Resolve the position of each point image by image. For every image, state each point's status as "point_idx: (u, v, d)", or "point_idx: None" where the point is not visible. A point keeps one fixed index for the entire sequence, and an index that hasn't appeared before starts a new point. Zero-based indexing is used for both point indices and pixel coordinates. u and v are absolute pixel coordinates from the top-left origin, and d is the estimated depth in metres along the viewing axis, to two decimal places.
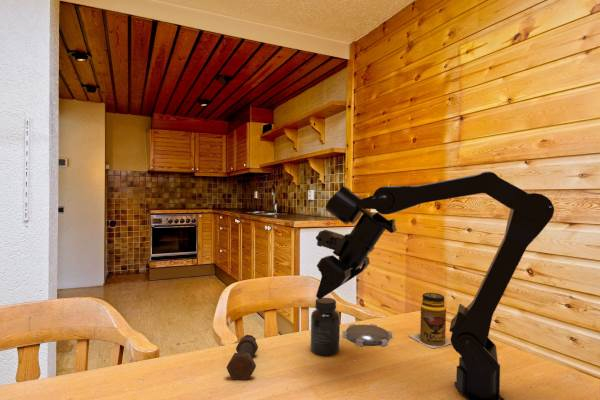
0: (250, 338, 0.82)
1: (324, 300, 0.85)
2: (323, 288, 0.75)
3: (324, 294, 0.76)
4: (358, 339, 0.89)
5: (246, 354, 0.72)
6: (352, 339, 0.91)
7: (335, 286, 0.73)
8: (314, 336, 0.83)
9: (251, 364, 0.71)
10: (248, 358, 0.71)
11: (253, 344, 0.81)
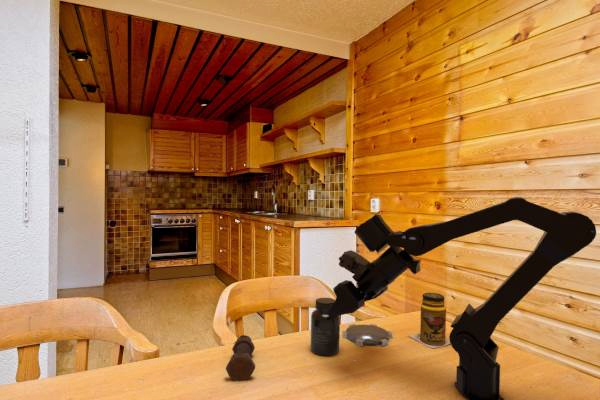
0: (247, 338, 0.81)
1: (324, 300, 0.85)
2: (335, 309, 0.77)
3: (335, 314, 0.78)
4: (358, 339, 0.89)
5: (245, 354, 0.72)
6: (352, 339, 0.91)
7: (347, 311, 0.75)
8: (314, 336, 0.83)
9: (251, 364, 0.71)
10: (248, 358, 0.71)
11: (250, 344, 0.81)
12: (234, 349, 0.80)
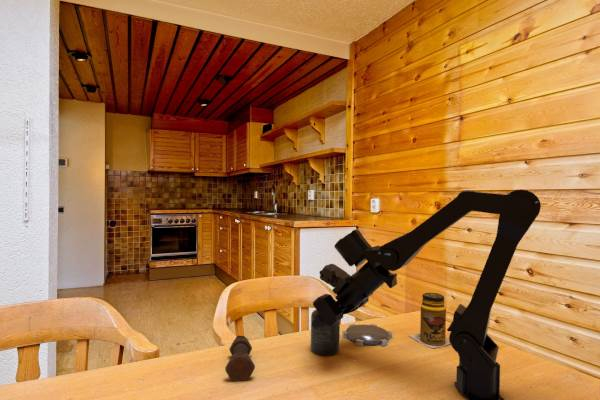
0: (244, 339, 0.81)
1: None
2: (318, 320, 0.81)
3: (318, 325, 0.81)
4: (358, 339, 0.89)
5: (245, 355, 0.72)
6: (352, 339, 0.91)
7: None
8: (314, 335, 0.83)
9: (251, 364, 0.71)
10: (247, 359, 0.71)
11: (247, 345, 0.80)
12: (231, 350, 0.80)
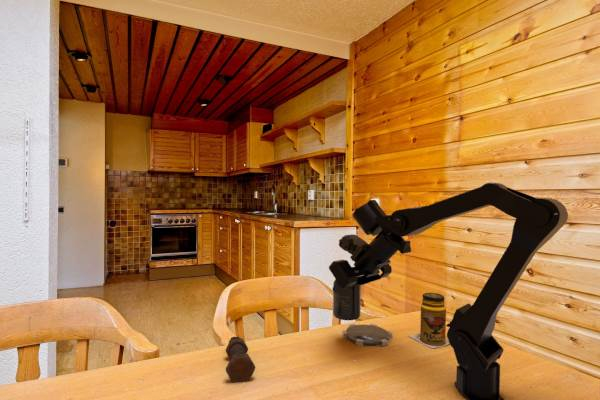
0: (240, 339, 0.81)
1: None
2: (337, 285, 0.86)
3: (337, 290, 0.87)
4: (358, 339, 0.89)
5: (246, 355, 0.71)
6: (352, 339, 0.91)
7: None
8: (335, 300, 0.89)
9: (251, 365, 0.71)
10: (248, 359, 0.71)
11: (244, 345, 0.80)
12: (228, 351, 0.79)
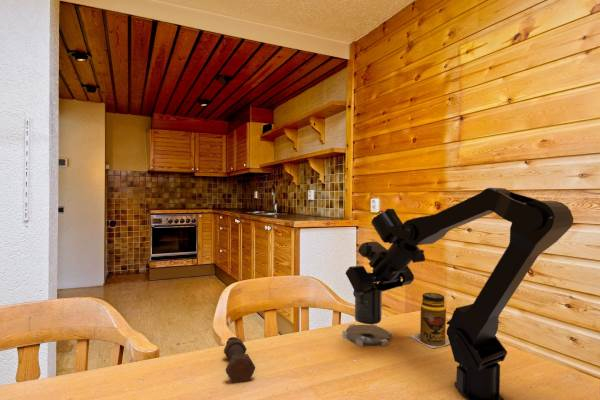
0: (238, 340, 0.80)
1: None
2: None
3: (357, 294, 0.91)
4: (358, 339, 0.89)
5: (245, 355, 0.71)
6: (352, 339, 0.91)
7: None
8: (356, 304, 0.93)
9: (251, 365, 0.71)
10: (248, 359, 0.71)
11: (242, 345, 0.80)
12: (226, 352, 0.79)
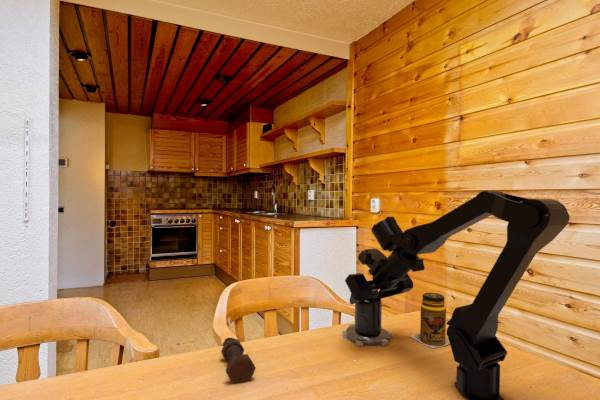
0: (236, 340, 0.80)
1: None
2: (353, 297, 0.90)
3: (353, 302, 0.90)
4: (358, 339, 0.89)
5: (246, 356, 0.71)
6: (352, 339, 0.91)
7: None
8: (356, 317, 0.93)
9: (252, 365, 0.71)
10: (249, 359, 0.71)
11: (240, 346, 0.80)
12: (224, 352, 0.79)
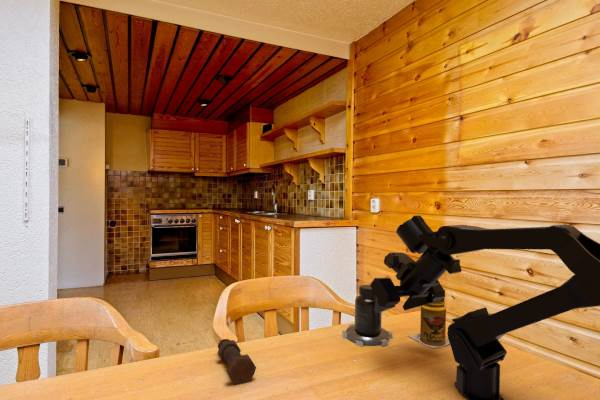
0: (232, 341, 0.80)
1: (366, 286, 0.93)
2: (378, 305, 0.81)
3: (378, 310, 0.82)
4: (358, 339, 0.89)
5: (246, 356, 0.71)
6: (352, 339, 0.91)
7: (385, 307, 0.78)
8: (356, 317, 0.93)
9: (253, 365, 0.71)
10: (249, 359, 0.71)
11: (237, 347, 0.79)
12: (221, 354, 0.78)
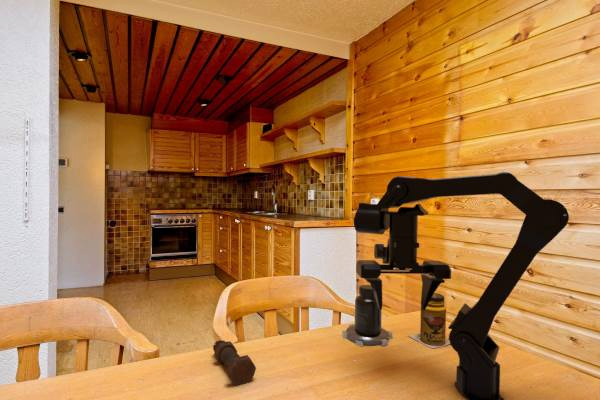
0: (229, 342, 0.79)
1: (366, 286, 0.93)
2: (375, 295, 0.75)
3: (377, 301, 0.75)
4: (358, 339, 0.89)
5: (246, 357, 0.71)
6: (352, 339, 0.91)
7: None
8: (356, 317, 0.93)
9: (253, 365, 0.71)
10: (250, 360, 0.71)
11: (233, 348, 0.79)
12: (218, 355, 0.77)
